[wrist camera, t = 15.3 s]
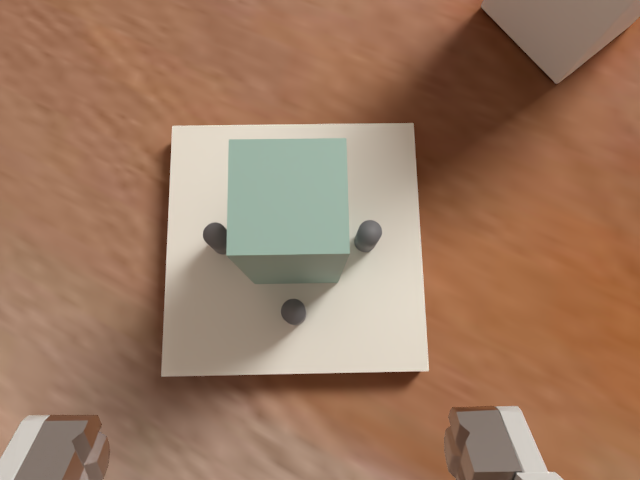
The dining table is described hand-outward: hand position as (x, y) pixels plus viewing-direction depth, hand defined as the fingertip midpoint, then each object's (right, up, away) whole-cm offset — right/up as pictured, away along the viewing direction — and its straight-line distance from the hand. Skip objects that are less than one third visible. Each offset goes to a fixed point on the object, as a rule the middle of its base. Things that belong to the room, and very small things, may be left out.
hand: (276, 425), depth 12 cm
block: (0, +4, +16) cm, 16 cm away
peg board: (0, +4, +17) cm, 18 cm away
